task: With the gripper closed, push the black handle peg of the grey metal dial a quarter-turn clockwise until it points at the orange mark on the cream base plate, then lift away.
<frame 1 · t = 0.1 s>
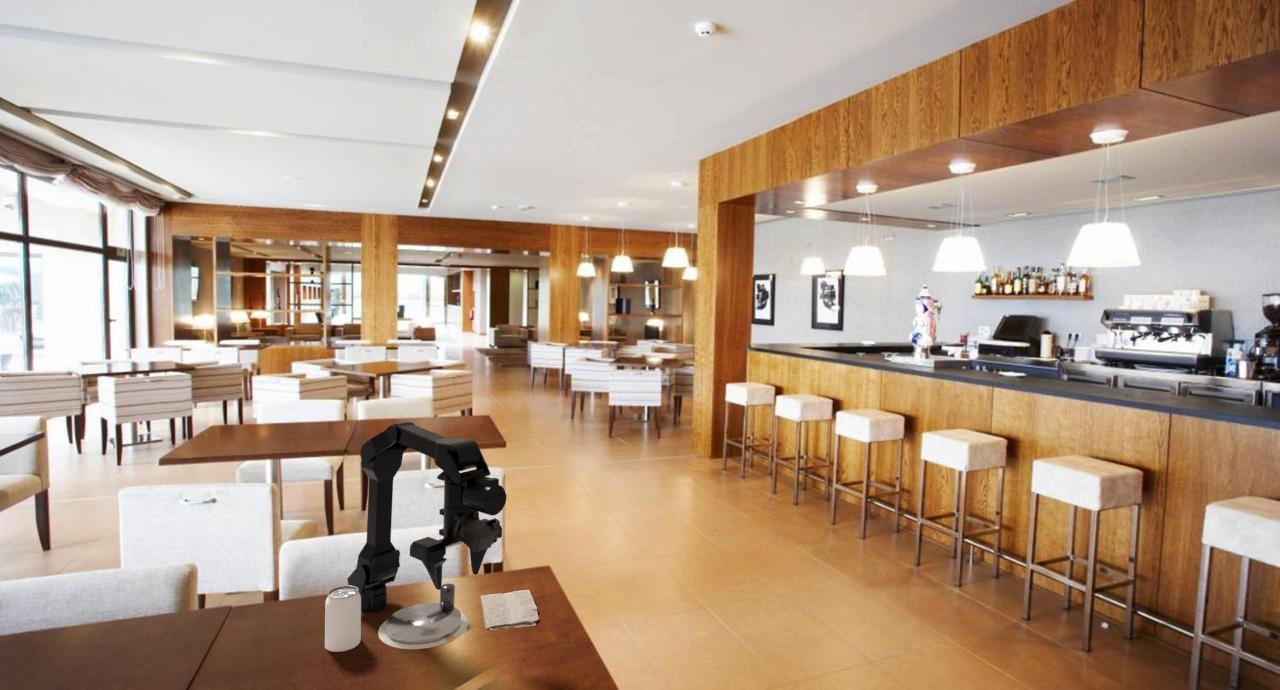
hand: (457, 581, 129), 15 cm above the table, tool pointing down, fingers open, 9 cm apart
dial: (424, 611, 137), point 5 cm above the table, hinge at 0.0°
can: (342, 651, 130), on the table
dial base: (423, 633, 137), on the table
washcloth: (508, 618, 146), on the table
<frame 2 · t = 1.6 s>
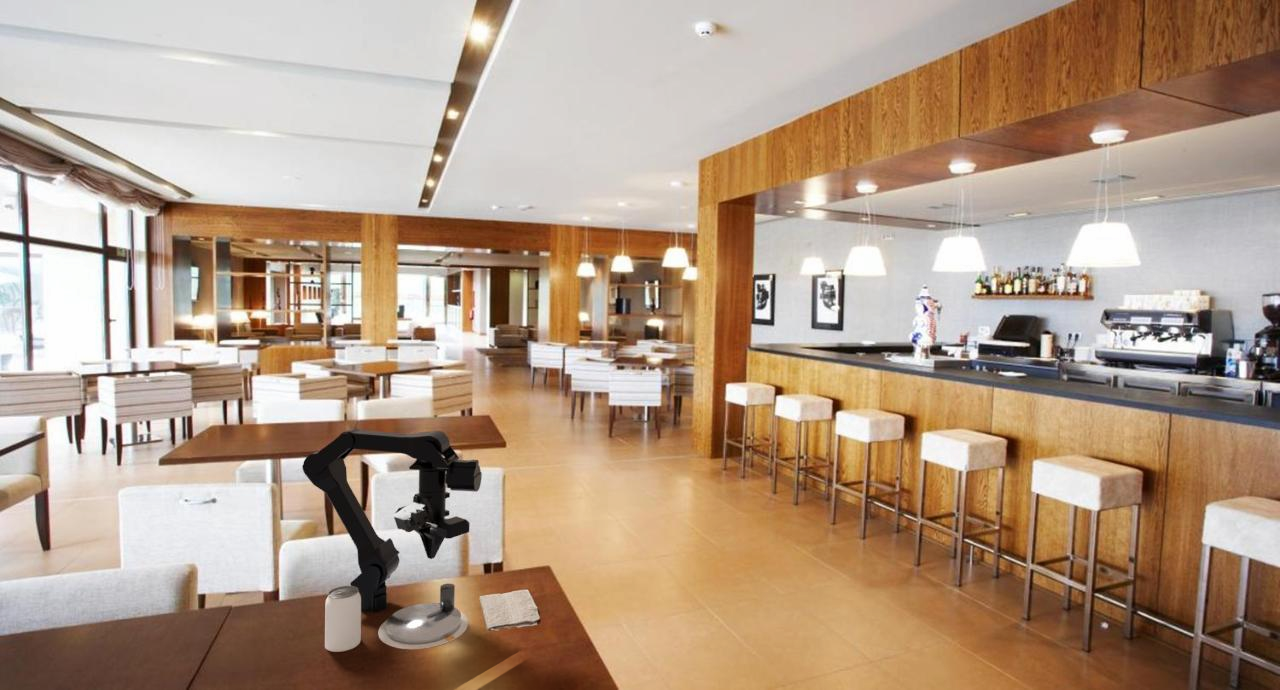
hand: (431, 558, 145), 13 cm above the table, tool pointing down, fingers closed
nothing on the table moved.
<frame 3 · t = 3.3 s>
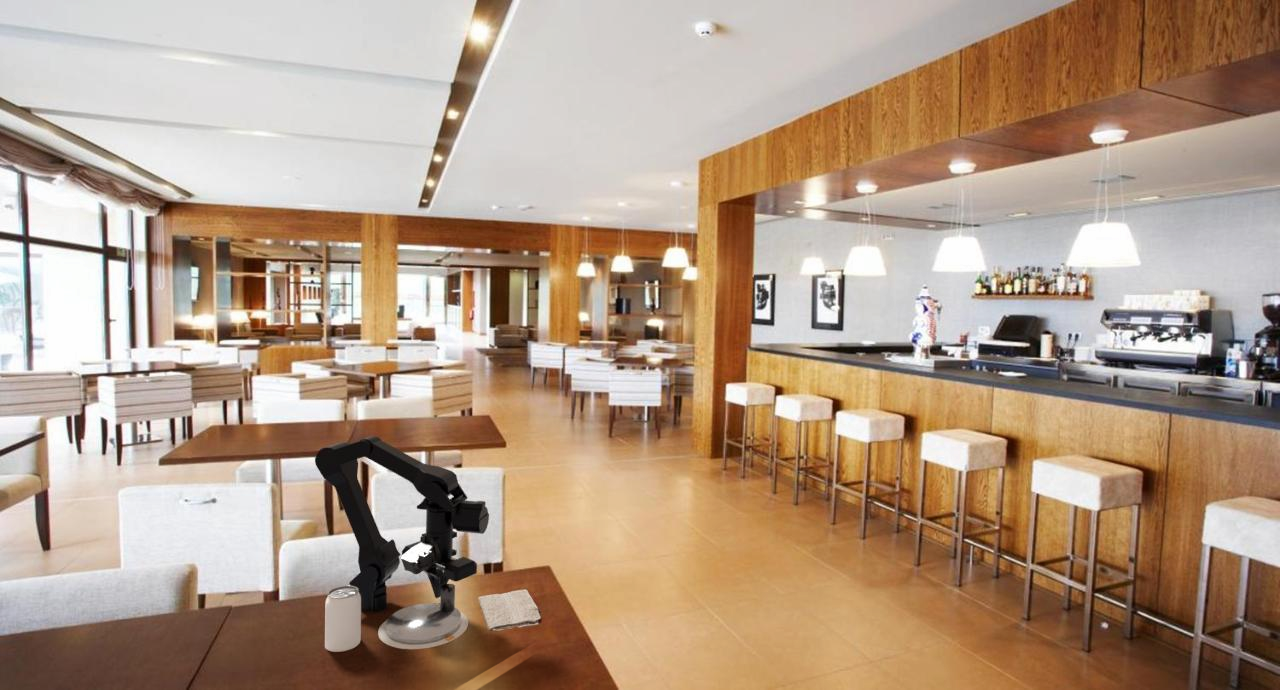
hand: (437, 597, 144), 5 cm above the table, tool pointing down, fingers closed
dial: (424, 611, 137), point 5 cm above the table, hinge at 1.1°, touching gripper
everything else where it was.
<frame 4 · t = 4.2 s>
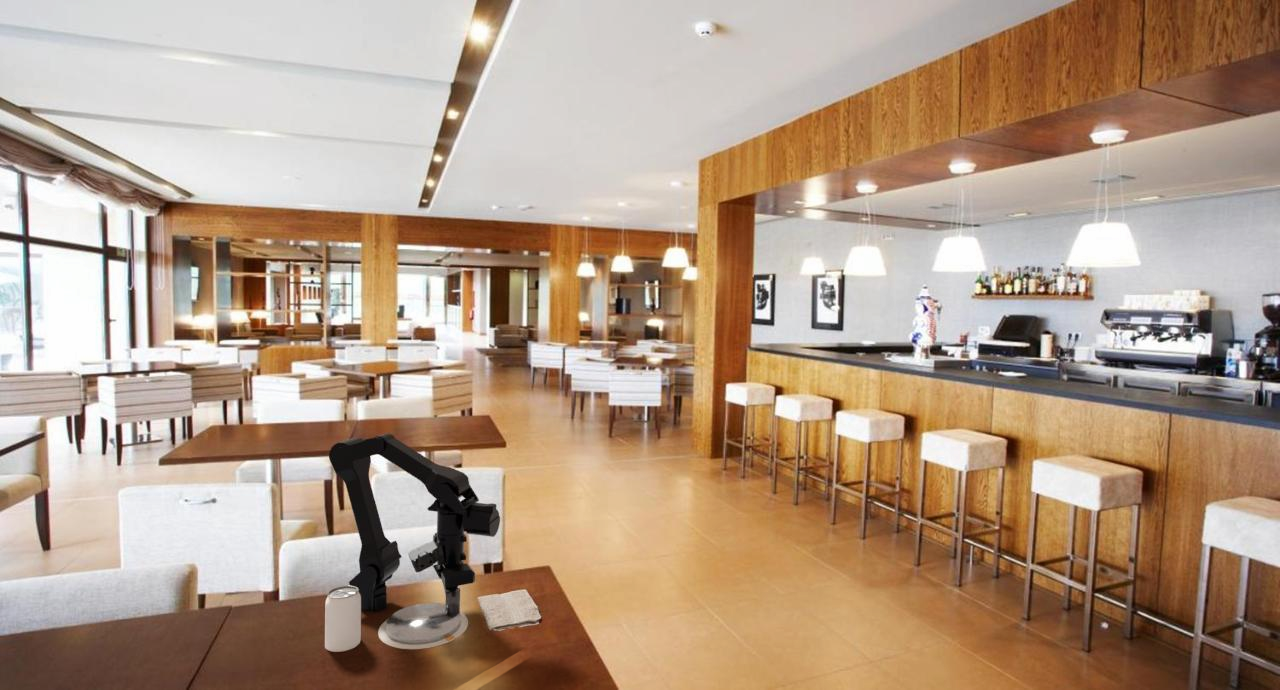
hand: (449, 599, 143), 5 cm above the table, tool pointing down, fingers closed
dial: (424, 611, 137), point 5 cm above the table, hinge at 23.6°, touching gripper
everything else where it was.
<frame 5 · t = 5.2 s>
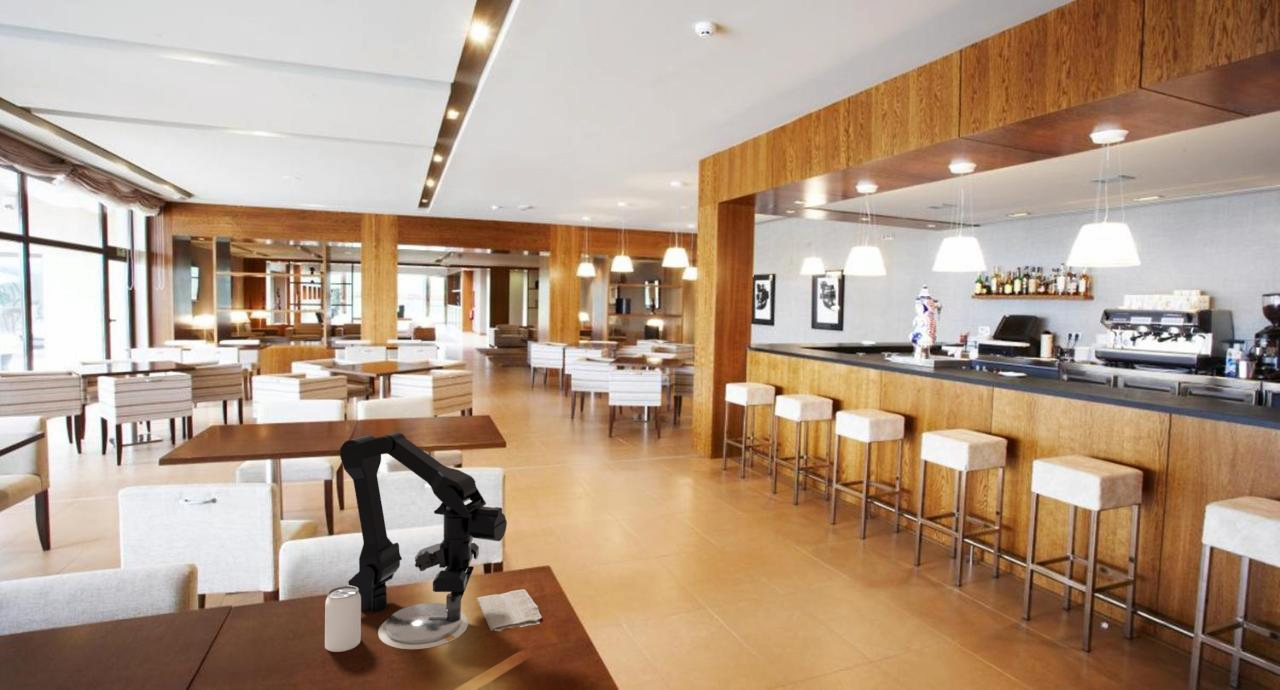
hand: (457, 603, 141), 5 cm above the table, tool pointing down, fingers closed
dial: (424, 611, 137), point 5 cm above the table, hinge at 49.4°, touching gripper
everything else where it was.
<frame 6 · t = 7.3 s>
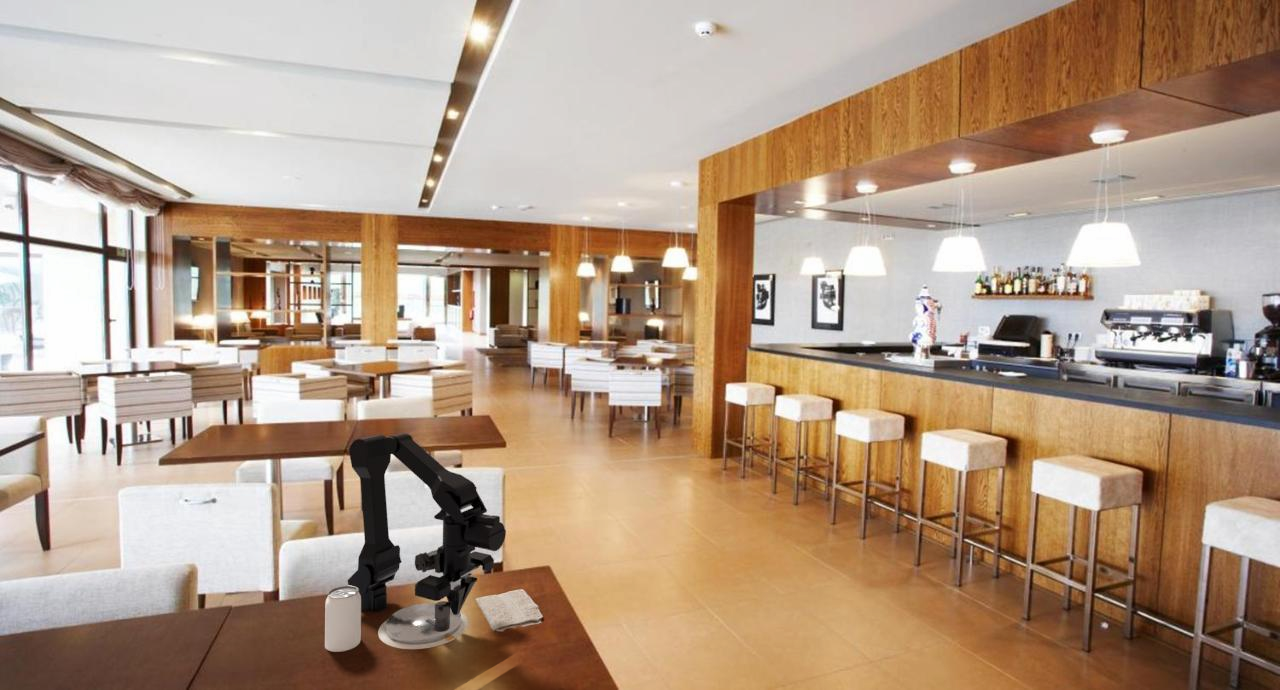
hand: (455, 614, 137), 5 cm above the table, tool pointing down, fingers closed
dial: (424, 611, 137), point 5 cm above the table, hinge at 91.9°
everything else where it was.
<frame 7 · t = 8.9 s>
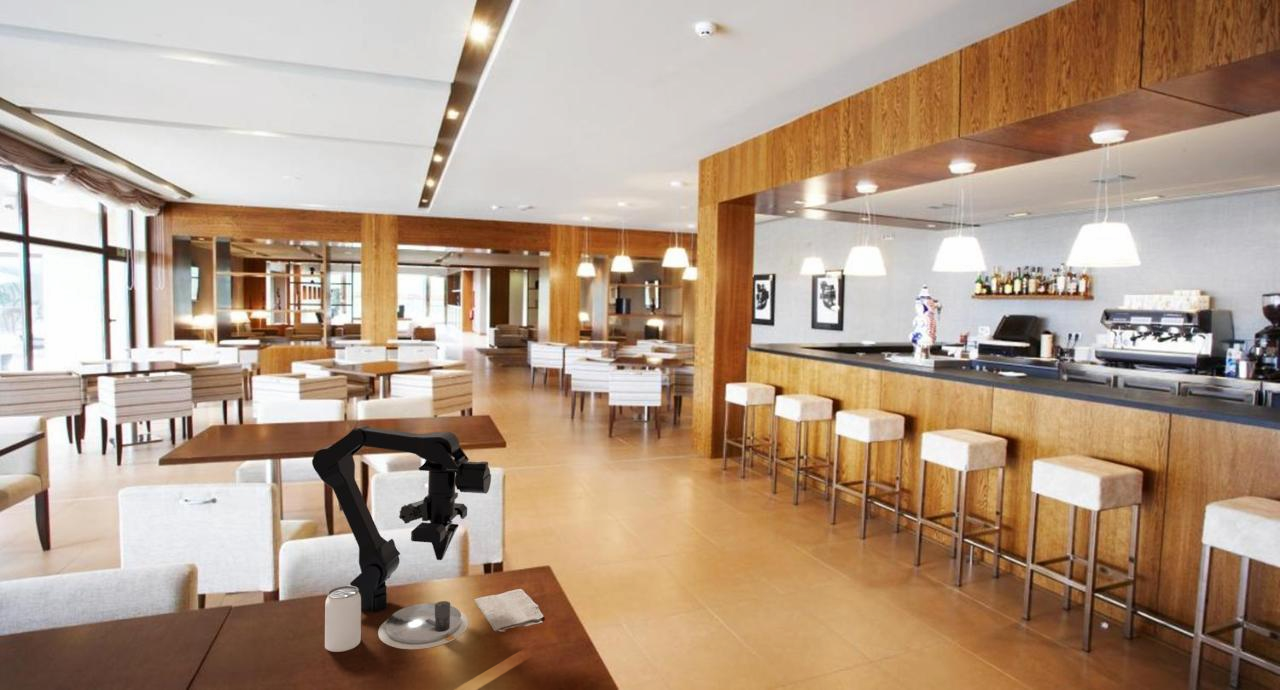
hand: (439, 559, 144), 13 cm above the table, tool pointing down, fingers closed
nothing on the table moved.
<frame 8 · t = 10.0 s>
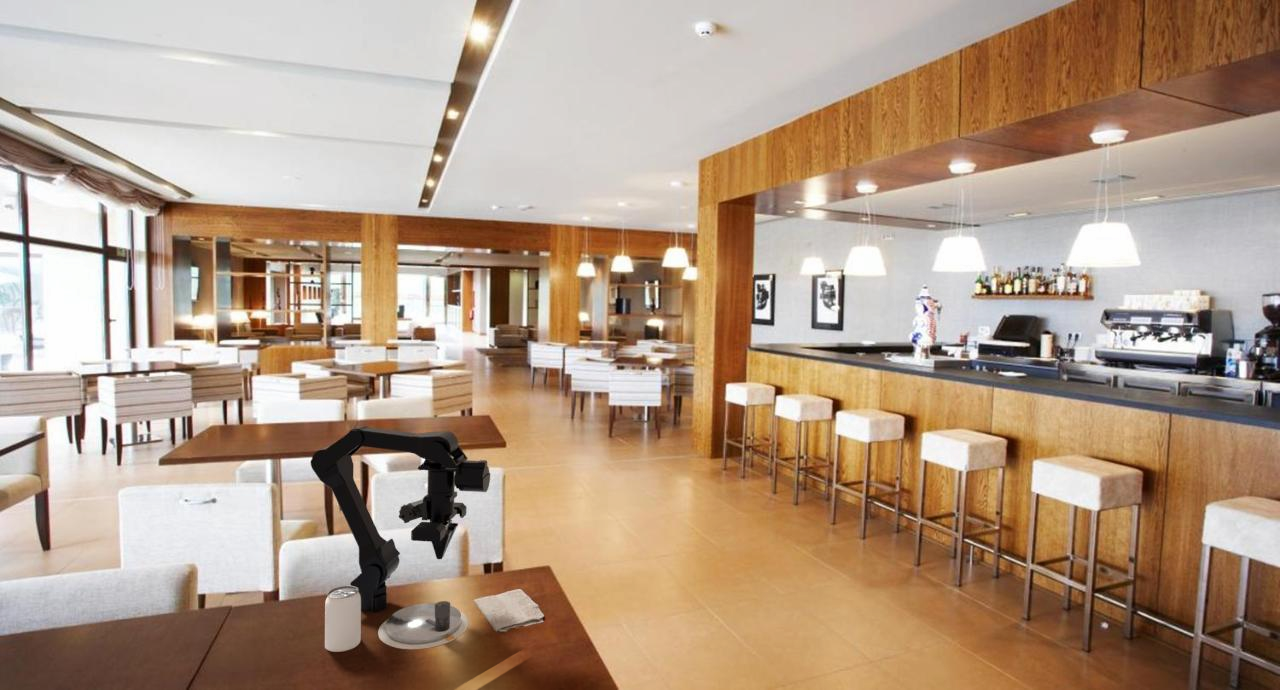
hand: (439, 558, 144), 13 cm above the table, tool pointing down, fingers closed
nothing on the table moved.
at the end: dial at +92° (first picture: +0°); can moved 0.2 cm from its start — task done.
